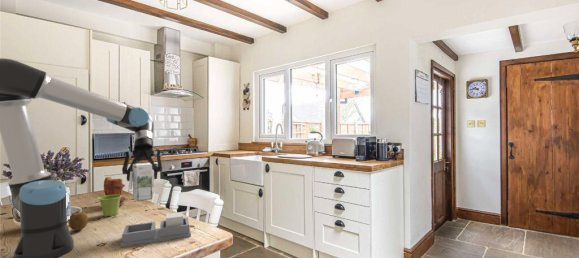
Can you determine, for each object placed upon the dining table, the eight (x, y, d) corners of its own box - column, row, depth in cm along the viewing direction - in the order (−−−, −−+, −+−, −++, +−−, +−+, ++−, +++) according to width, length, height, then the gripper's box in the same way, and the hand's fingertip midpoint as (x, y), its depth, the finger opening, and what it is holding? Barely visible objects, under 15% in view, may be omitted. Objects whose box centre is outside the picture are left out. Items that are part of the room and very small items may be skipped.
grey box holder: (120, 247, 99) (119, 226, 99) (125, 236, 109) (124, 217, 109) (190, 236, 108) (190, 217, 108) (189, 227, 118) (188, 209, 118)
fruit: (90, 227, 120) (89, 208, 120) (84, 232, 114) (84, 212, 114) (72, 229, 119) (72, 209, 118) (66, 234, 113) (65, 214, 113)
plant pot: (104, 219, 131) (104, 200, 131) (95, 216, 136) (94, 197, 136) (125, 213, 138) (125, 195, 138) (116, 210, 144) (115, 193, 144)
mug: (128, 205, 153) (127, 177, 153) (112, 209, 147) (111, 179, 146) (114, 202, 161) (113, 175, 161) (98, 205, 154) (97, 177, 154)
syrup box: (148, 196, 120) (147, 162, 120) (152, 199, 116) (152, 163, 115) (132, 199, 116) (132, 163, 116) (137, 202, 112) (136, 164, 112)
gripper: (168, 147, 134) (169, 189, 119) (118, 149, 126) (113, 194, 111) (168, 136, 129) (169, 178, 114) (116, 137, 121) (110, 182, 106)
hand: (141, 186), depth 113 cm, fingers closed on syrup box, 7 cm apart
